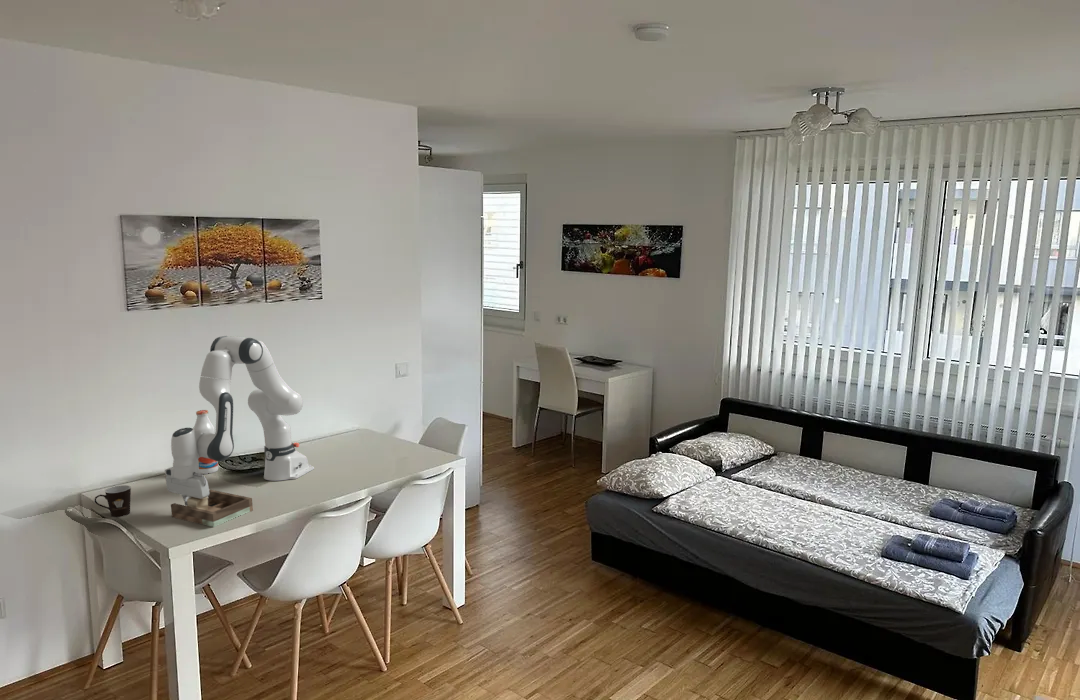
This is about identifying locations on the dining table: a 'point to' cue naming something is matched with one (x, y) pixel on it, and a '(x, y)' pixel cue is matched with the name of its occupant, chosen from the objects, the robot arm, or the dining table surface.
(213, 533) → the dining table surface
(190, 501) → the birch block
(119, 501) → the coffee mug
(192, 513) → the box
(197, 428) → the fruit juice
